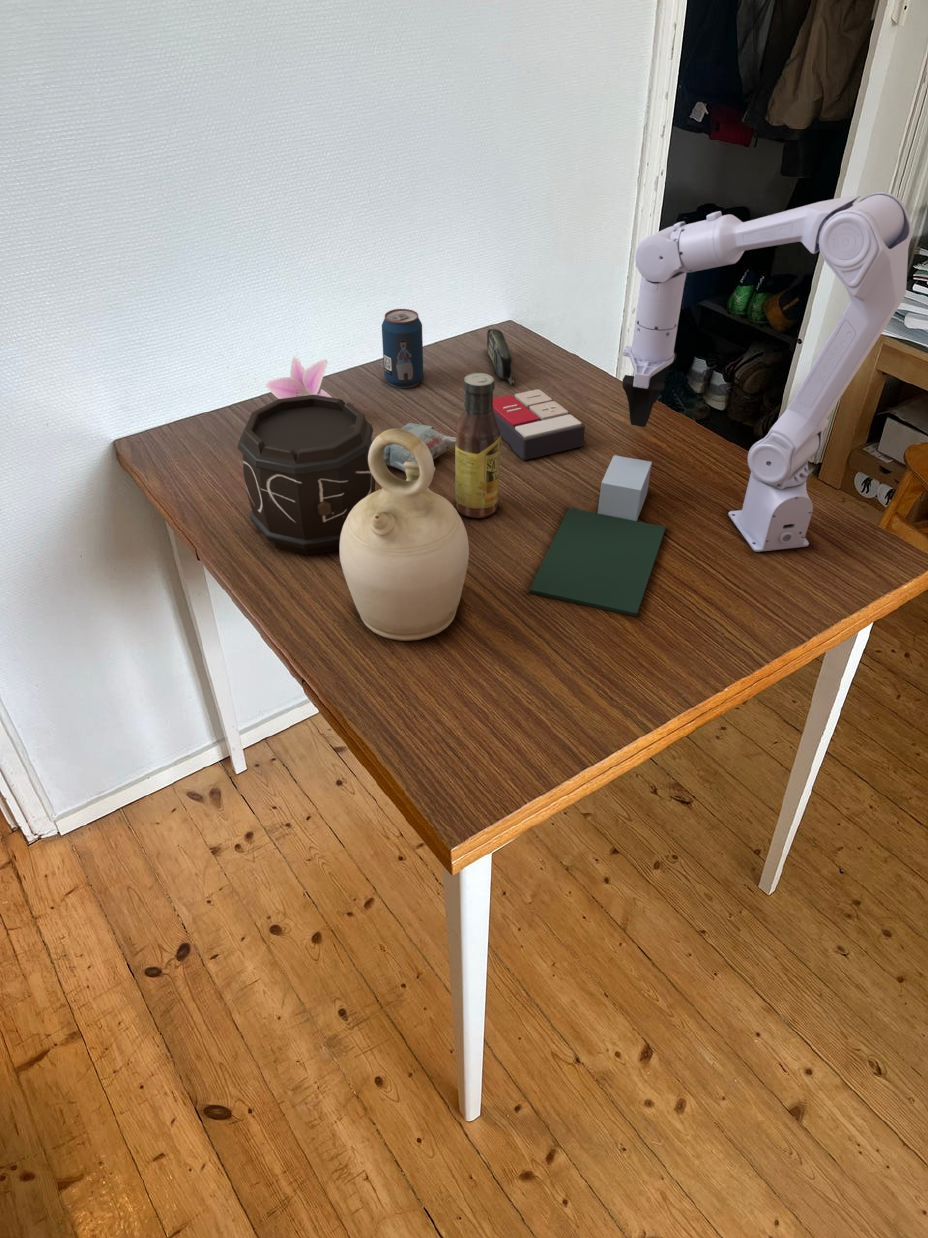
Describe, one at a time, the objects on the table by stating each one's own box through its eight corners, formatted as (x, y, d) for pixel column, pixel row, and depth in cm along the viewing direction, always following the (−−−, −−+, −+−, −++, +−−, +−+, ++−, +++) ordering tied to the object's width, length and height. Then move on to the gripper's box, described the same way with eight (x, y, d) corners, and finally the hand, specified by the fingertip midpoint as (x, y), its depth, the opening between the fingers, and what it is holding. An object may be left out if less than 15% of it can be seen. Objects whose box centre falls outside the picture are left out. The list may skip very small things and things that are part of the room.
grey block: (609, 487, 138) (613, 454, 134) (647, 494, 136) (652, 461, 133) (597, 515, 132) (601, 482, 128) (636, 523, 131) (641, 489, 127)
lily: (268, 411, 158) (247, 377, 149) (324, 372, 159) (307, 336, 150) (304, 457, 153) (285, 425, 144) (362, 416, 154) (346, 382, 145)
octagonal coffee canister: (260, 571, 122) (242, 468, 112) (245, 499, 135) (228, 400, 125) (393, 549, 126) (387, 447, 116) (366, 481, 139) (359, 384, 129)
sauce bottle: (494, 522, 131) (498, 393, 118) (450, 517, 132) (450, 388, 119) (501, 498, 136) (506, 371, 123) (460, 493, 136) (460, 367, 124)
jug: (402, 557, 124) (394, 385, 108) (493, 604, 117) (498, 427, 101) (319, 614, 115) (297, 435, 99) (412, 668, 108) (404, 485, 92)
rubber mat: (568, 511, 133) (568, 507, 133) (665, 530, 129) (665, 526, 129) (528, 592, 119) (529, 589, 118) (636, 617, 115) (637, 613, 115)
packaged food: (458, 454, 145) (458, 426, 142) (412, 487, 137) (411, 458, 134) (414, 439, 149) (412, 411, 146) (367, 470, 141) (364, 442, 138)
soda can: (407, 368, 168) (405, 303, 160) (431, 382, 164) (430, 316, 156) (376, 379, 165) (372, 313, 157) (399, 393, 161) (397, 326, 153)
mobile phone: (484, 327, 171) (501, 359, 159) (500, 325, 171) (518, 358, 160) (484, 352, 174) (501, 386, 162) (500, 351, 174) (517, 385, 163)
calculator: (540, 385, 155) (586, 421, 144) (539, 409, 158) (584, 446, 147) (481, 398, 151) (524, 435, 141) (481, 422, 154) (523, 460, 143)
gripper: (638, 298, 131) (626, 386, 140) (616, 338, 121) (605, 431, 130) (687, 305, 130) (673, 394, 138) (669, 346, 119) (655, 439, 128)
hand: (643, 412), depth 134 cm, fingers open, 7 cm apart
